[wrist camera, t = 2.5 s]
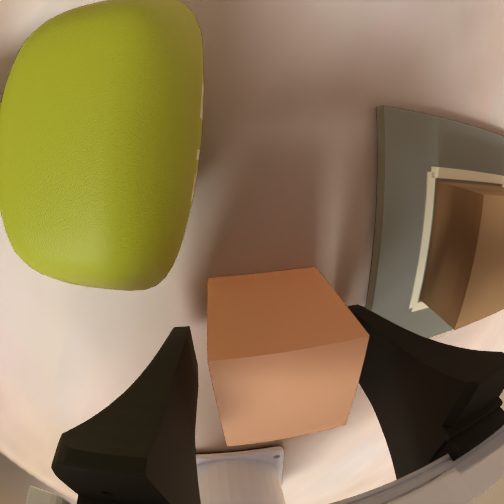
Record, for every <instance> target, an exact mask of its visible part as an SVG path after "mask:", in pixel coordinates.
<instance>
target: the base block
mask: <svg viewBox="0 0 504 504" xmlns="http://www.w3.org/2000/svg"><path fill="white" fill-rule="evenodd" d="M420 300H421V301H422V302H423V303H424V304H426V305H427V306H428V307H429V308H430V309H431V310H433V311H434V312H435V313H436V314H437V315H438V316H439V317H440V318H442V319H443V320H444V321H445V322H446V323H447V324H448V325H449V326H450V327H452V328H453V329H454V330H456V329H458V328H461V327H463V326H466V325H468V324H471V323H473V322H475V321H478V320H480V319H483V318H485V317H487V316H489V315H492V314H494V313H496V312H498V311H500V310H502V309H504V187H501V186H492V185H482V184H471V183H458V182H444V181H436V193H435V205H434V215H433V224H432V232H431V240H430V246H429V253H428V259H427V265H426V270H425V275H424V280H423V285H422V290H421V294H420Z"/></svg>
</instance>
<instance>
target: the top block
mask: <svg viewBox="0 0 504 504" xmlns="http://www.w3.org/2000/svg"><path fill="white" fill-rule="evenodd" d="M369 336H370V335H369V334H368V333H367V332H366V330H365V329H364V328H363V326H362V325H361V324H360V322H359V321H358V320H357V319H356V317H355V316H354V315H353V313H352V312H351V311H350V310H349V308H348V307H347V306H346V304H345V303H344V302H343V301H342V299H341V298H340V297H339V296H338V294H337V293H336V292H335V290H334V289H333V288H332V287H331V285H330V284H329V283H328V282H327V280H326V279H325V278H324V277H323V276H322V274H321V273H320V272H319V271H318V269H317V268H316V267H309V268H300V269H292V270H283V271H274V272H265V273H255V274H246V275H236V276H226V277H216V278H208V285H207V354H208V366H209V370H210V375H211V380H212V385H213V389H214V394H215V398H216V403H217V407H218V412H219V416H220V420H221V424H222V428H223V432H224V436H225V440H226V444H227V446H237V445H246V444H254V443H261V442H268V441H275V440H281V439H286V438H292V437H297V436H302V435H306V434H311V433H316V432H320V431H324V430H328V429H332V428H336V427H339V426H343V425H346V423H347V420H348V417H349V413H350V410H351V407H352V403H353V400H354V397H355V393H356V389H357V386H358V382H359V378H360V374H361V370H362V366H363V362H364V358H365V354H366V350H367V345H368V340H369Z"/></svg>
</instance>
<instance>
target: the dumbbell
mask: <svg viewBox="0 0 504 504" xmlns="http://www.w3.org/2000/svg"><path fill="white" fill-rule="evenodd" d="M203 93H204V78H203V43H202V35H201V31H200V28H199V25H198V22H197V19H196V17H195V16H194V14H193V12H192V11H191V10H190V9H189V8H188V7H187V6H186V5H185V4H184V3H182V2H180V1H177V0H107V1H101V2H97V3H93V4H89V5H85V6H81V7H78V8H75V9H72V10H69V11H67V12H64V13H62V14H60V15H57V16H55V17H54V18H52V19H50V20H48V21H46V22H45V23H44V24H43V25H41V26H40V27H39V28H38V29H37V30H36V31H35V32H34V33H33V34H32V35H31V36H30V37H29V38H28V39H27V40H26V41H25V42H24V44H23V46H22V48H21V49H20V51H19V53H18V55H17V57H16V59H15V62H14V64H13V66H12V69H11V71H10V74H9V77H8V80H7V83H6V86H5V89H4V94H3V98H2V102H0V211H1V215H2V219H3V223H4V226H5V230H6V232H7V235H8V238H9V240H10V243H11V245H12V247H13V249H14V251H15V252H16V254H17V255H18V256H19V257H20V258H21V259H22V260H23V261H24V262H25V263H26V264H27V265H29V266H30V267H31V268H32V269H34V270H36V271H37V272H39V273H41V274H43V275H46V276H49V277H52V278H54V279H57V280H61V281H64V282H67V283H72V284H76V285H82V286H88V287H95V288H105V289H115V290H127V291H133V290H146V289H149V288H151V287H154V286H156V285H158V284H159V283H160V282H161V281H162V280H163V279H164V278H165V277H166V276H167V274H168V273H169V271H170V269H171V268H172V266H173V264H174V262H175V259H176V257H177V255H178V252H179V250H180V247H181V244H182V240H183V237H184V233H185V229H186V225H187V221H188V217H189V213H190V209H191V205H192V201H193V196H194V191H195V185H196V178H197V171H198V163H199V155H200V145H201V134H202V118H203Z"/></svg>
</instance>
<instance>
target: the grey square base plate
mask: <svg viewBox="0 0 504 504" xmlns="http://www.w3.org/2000/svg"><path fill="white" fill-rule="evenodd" d="M376 112H377V141H378V173H377V203H376V220H375V233H374V245H373V255H372V264H371V273H370V280H369V288H368V295H367V302H366V309H368V310H370V311H372V312H374V313H376V314H378V315H380V316H381V317H383V318H385V319H387V320H389V321H391V322H393V323H395V324H397V325H399V326H401V327H403V328H405V329H407V330H409V331H411V332H413V333H416V334H418V335H420V336H423V337H425V338H430V337H432V336H435V335H438V334H441V333H444V332H446V331H449V330H452V329H453V328H452V327H450V326H449V325H448V324H447V323H446V322H445V321H444V320H443V319H442V318H440V317H439V316H438V315H437V314H436V313H435V312H434V311H433V310H431V309H430V308H429V307H428V306H427V305H426V304H424V303H423V302H422V301H421V300H420V294H421V290H422V285H423V280H424V275H425V270H426V265H427V259H428V253H429V246H430V240H431V232H432V224H433V215H434V205H435V193H436V181H444V182H458V183H471V184H482V185H492V186H501V187H504V136H502V135H499V134H496V133H493V132H490V131H487V130H484V129H481V128H478V127H475V126H472V125H468V124H465V123H461V122H458V121H454V120H450V119H446V118H442V117H438V116H434V115H429V114H425V113H420V112H415V111H410V110H405V109H400V108H394V107H388V106H380V107H376Z"/></svg>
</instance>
